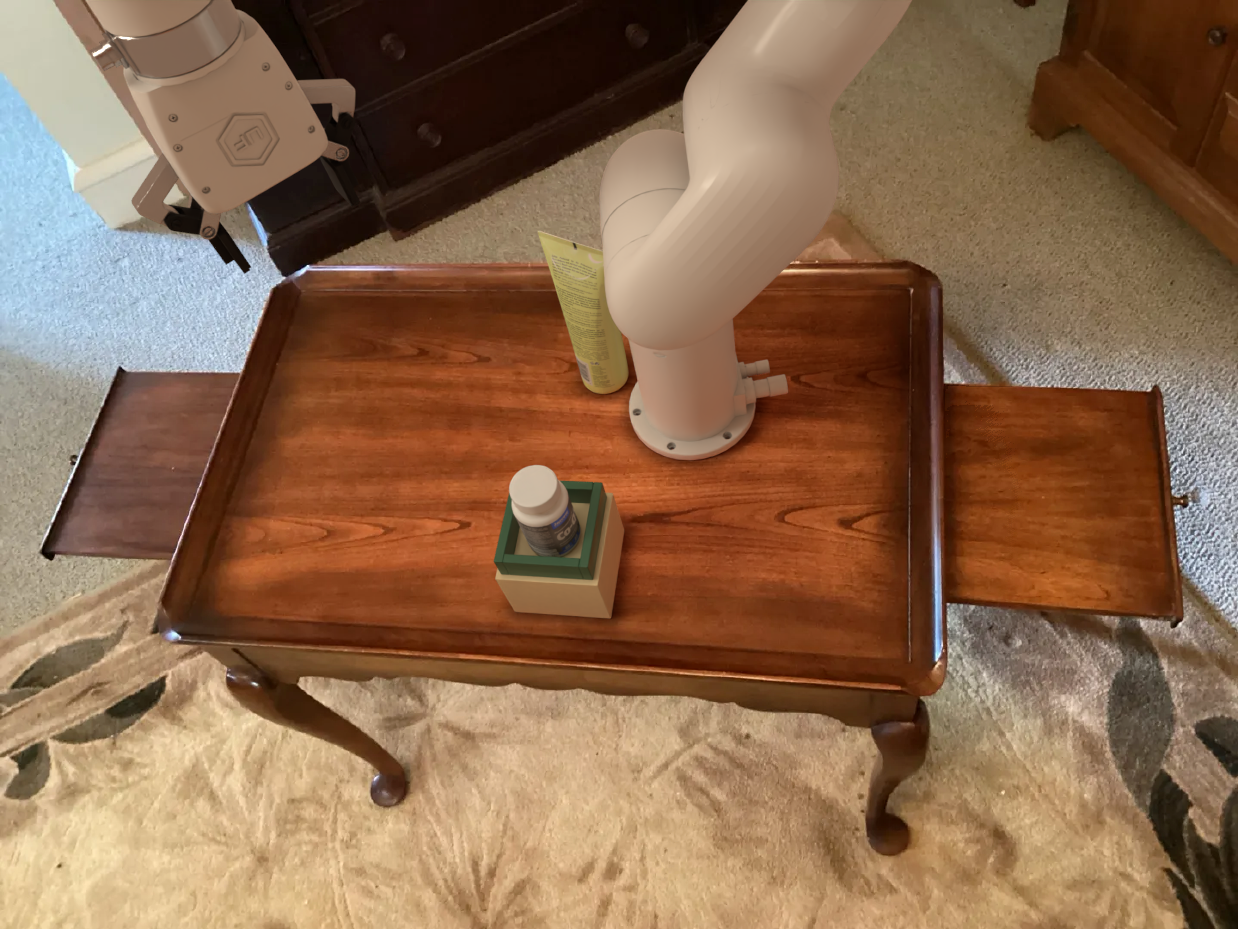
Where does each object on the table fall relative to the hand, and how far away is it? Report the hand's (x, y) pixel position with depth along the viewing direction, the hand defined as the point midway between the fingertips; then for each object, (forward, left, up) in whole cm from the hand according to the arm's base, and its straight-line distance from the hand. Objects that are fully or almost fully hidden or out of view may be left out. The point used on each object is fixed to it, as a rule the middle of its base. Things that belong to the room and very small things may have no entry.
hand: (295, 229), depth 74 cm
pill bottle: (-14, +18, -24) cm, 33 cm away
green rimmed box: (-14, +18, -30) cm, 38 cm away
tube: (-20, -4, -31) cm, 37 cm away
